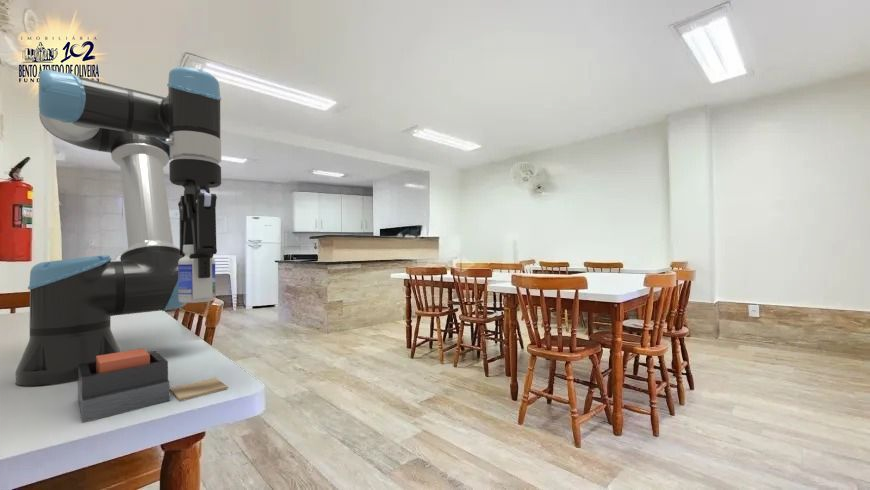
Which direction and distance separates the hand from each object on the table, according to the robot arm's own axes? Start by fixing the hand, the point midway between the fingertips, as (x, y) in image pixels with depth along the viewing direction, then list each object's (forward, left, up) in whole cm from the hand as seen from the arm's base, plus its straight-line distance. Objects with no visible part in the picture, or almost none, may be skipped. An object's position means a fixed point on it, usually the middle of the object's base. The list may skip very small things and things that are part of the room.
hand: (197, 296), depth 64 cm
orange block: (-4, -10, -14) cm, 17 cm away
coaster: (0, 0, -16) cm, 16 cm away
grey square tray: (-4, -10, -16) cm, 19 cm away
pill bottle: (0, 0, -1) cm, 1 cm away
